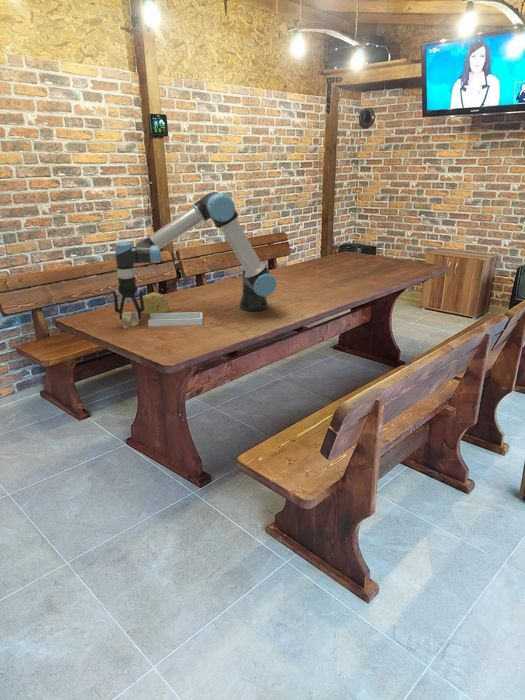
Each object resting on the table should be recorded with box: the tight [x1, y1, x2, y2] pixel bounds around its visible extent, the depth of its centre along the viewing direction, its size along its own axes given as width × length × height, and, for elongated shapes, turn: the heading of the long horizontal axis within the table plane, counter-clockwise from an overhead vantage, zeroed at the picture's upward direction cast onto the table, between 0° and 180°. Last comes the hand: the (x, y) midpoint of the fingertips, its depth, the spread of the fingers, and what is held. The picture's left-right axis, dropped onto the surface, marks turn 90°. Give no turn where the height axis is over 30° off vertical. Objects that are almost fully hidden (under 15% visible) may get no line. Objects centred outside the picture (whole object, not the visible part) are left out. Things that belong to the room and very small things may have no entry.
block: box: [122, 311, 138, 329], centre depth 229 cm, size 6×6×6 cm
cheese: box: [139, 292, 170, 315], centre depth 246 cm, size 10×11×10 cm
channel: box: [147, 311, 204, 328], centre depth 232 cm, size 25×11×4 cm, turn 97°
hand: (131, 325), depth 230 cm, fingers closed on block, 6 cm apart
